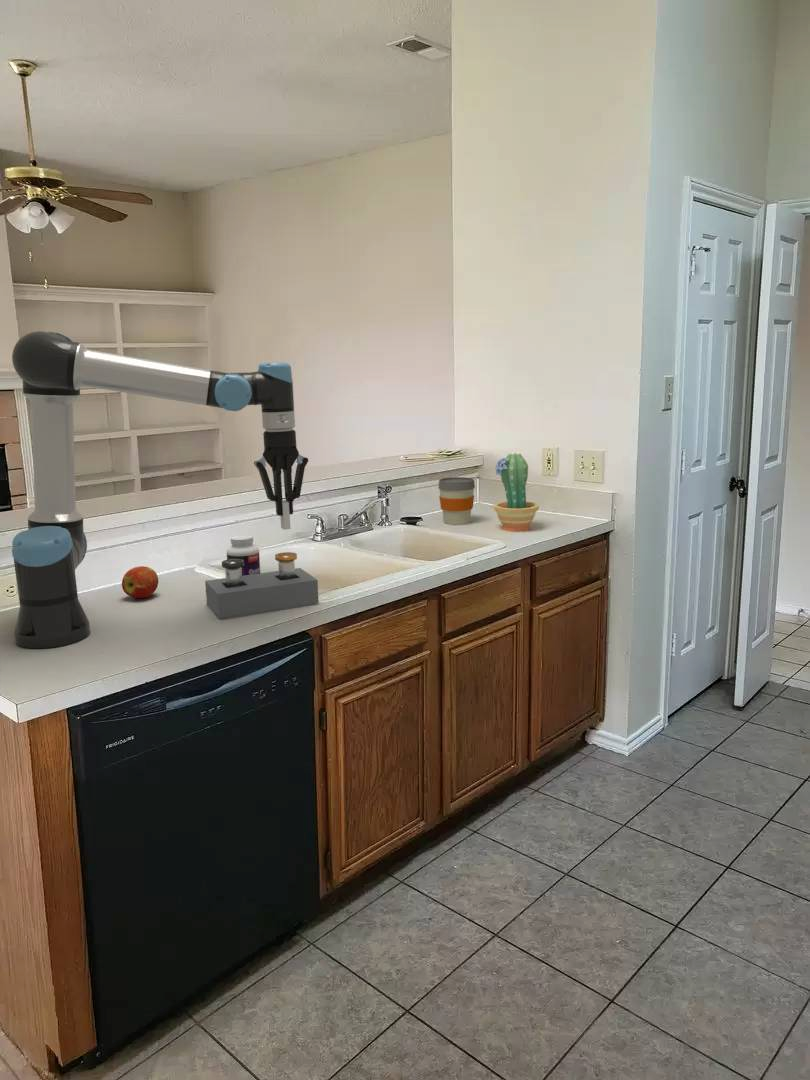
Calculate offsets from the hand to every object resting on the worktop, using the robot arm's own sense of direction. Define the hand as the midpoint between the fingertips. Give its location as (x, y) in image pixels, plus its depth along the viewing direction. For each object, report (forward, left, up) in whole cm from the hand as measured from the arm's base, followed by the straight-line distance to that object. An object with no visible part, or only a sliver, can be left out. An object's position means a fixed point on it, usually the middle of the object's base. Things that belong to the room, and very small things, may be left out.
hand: (285, 528), depth 202 cm
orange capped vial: (0, 0, -14) cm, 14 cm away
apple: (-32, +21, -18) cm, 42 cm away
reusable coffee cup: (+80, +61, -18) cm, 102 cm away
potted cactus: (+92, +42, -18) cm, 103 cm away
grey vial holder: (-7, 0, -18) cm, 19 cm away
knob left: (-13, 0, -14) cm, 19 cm away
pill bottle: (-8, +12, -18) cm, 23 cm away
